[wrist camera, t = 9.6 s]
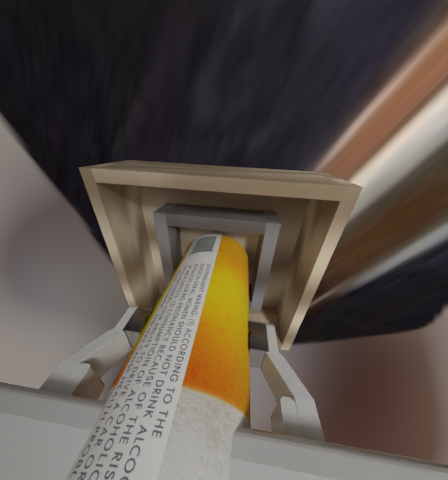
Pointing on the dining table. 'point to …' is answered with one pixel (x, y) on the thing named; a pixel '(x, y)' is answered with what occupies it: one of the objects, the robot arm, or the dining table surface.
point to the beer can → (181, 378)
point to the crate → (222, 228)
